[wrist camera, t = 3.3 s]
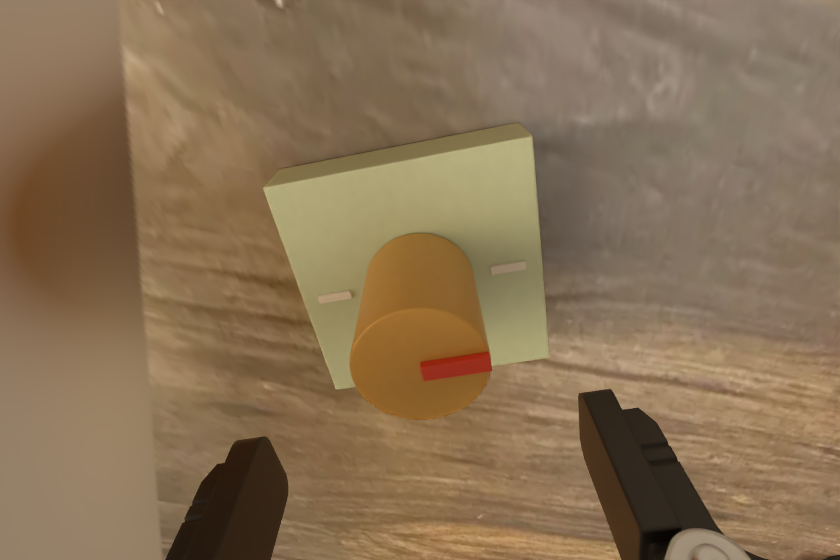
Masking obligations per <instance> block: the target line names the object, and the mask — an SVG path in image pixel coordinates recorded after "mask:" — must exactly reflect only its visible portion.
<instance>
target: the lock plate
mask: <svg viewBox="0 0 840 560" xmlns="http://www.w3.org/2000/svg"><path fill="white" fill-rule="evenodd" d="M263 190H264V193H265V196H266V199H267V201H268V204H269V207H270V210H271V212H272V215H273V218H274V221H275V223H276V226H277V229H278V232H279V234H280V237H281V240H282V243H283V245H284V248H285V251H286V254H287V256H288V259H289V262H290V265H291V268H292V270H293V273H294V276H295V279H296V281H297V284H298V287H299V290H300V292H301V295H302V298H303V301H304V303H305V306H306V309H307V312H308V314H309V317H310V320H311V323H312V325H313V328H314V331H315V334H316V336H317V339H318V342H319V345H320V347H321V350H322V353H323V356H324V358H325V361H326V364H327V367H328V370H329V372H330V375H331V378H332V381H333V383H334V386H335V389H336V390H338V389H345V388H351V387H356V386H355V384H354V382H353V379H352V377H351V373H350V365H349V361H350V353H351V348H352V343H353V338H354V333H355V328H356V323H357V318H358V314H359V309H360V304H361V299H362V294H363V289H364V284H365V279H366V274H367V270H368V267H369V264H370V262H371V260H372V258H373V257H374V255H375V254H376V253H377V252H378V250H379V249H381V248H382V247H383V246H384V245H385V244H387V243H388V242H390V241H392V240H394V239H395V238H398V237H401V236H404V235H408V234H416V233H425V234H432V235H436V236H440V237H442V238H445V239H447V240H449V241H450V242H452V243H453V244H455V245H456V246H458V247H459V248H460V249H461V250H462V251H463V253H464V254H465V255H466V256H467V258H468V260H469V262H470V264H471V266H472V270H473V274H474V279H475V283H476V288H477V293H478V297H479V302H480V307H481V311H482V316H483V321H484V325H485V330H486V335H487V340H488V344H489V349H490V354H491V363H492V364H491V366H497V365H504V364H511V363H517V362H524V361H530V360H537V359H544V358H549V344H548V331H547V318H546V305H545V292H544V279H543V266H542V253H541V239H540V226H539V213H538V200H537V187H536V174H535V161H534V148H533V137H532V135H531V134H530V133H529V132H528V131H527V130H526V129H525V128H524V127H523V126H522V125H521V124H520V123H514V124H509V125H504V126H499V127H494V128H488V129H483V130H478V131H473V132H468V133H463V134H458V135H453V136H447V137H442V138H437V139H432V140H427V141H422V142H417V143H412V144H407V145H401V146H396V147H391V148H386V149H381V150H376V151H371V152H366V153H361V154H355V155H350V156H345V157H340V158H335V159H330V160H325V161H320V162H314V163H309V164H304V165H299V166H294V167H289V168H284V169H280V170H279V171H278V172H277V173H276V174H275V175H274V176H273V177H272V179H271V180H270V181H269V182H268V183H267V184H266V185H265V186H264V187H263Z"/></svg>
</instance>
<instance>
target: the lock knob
mask: <svg viewBox="0 0 840 560" xmlns="http://www.w3.org/2000/svg"><path fill="white" fill-rule="evenodd" d="M491 364H492V363H491V354H490V349H489V344H488V340H487V335H486V330H485V325H484V321H483V316H482V311H481V307H480V302H479V297H478V293H477V288H476V283H475V279H474V274H473V270H472V266H471V264H470V262H469V260H468V258H467V256H466V255H465V254H464V253H463V251H462V250H461V249H460V248H459V247H458V246H456V245H455V244H453V243H452V242H450V241H449V240H447V239H445V238H442V237H440V236H436V235H432V234H425V233H416V234H408V235H404V236H401V237H398V238H395V239H394V240H392V241H390V242H388V243H387V244H385V245H384V246H383V247H382V248H381V249H379V250H378V252H377V253H376V254H375V255H374V257H373V258H372V260H371V262H370V264H369V267H368V270H367V274H366V279H365V284H364V289H363V294H362V299H361V304H360V309H359V314H358V318H357V323H356V328H355V333H354V338H353V343H352V348H351V353H350V361H349V365H350V373H351V377H352V379H353V382H354V384H355V386H356V388H357V389H358V391H359V392H360V394H361V395H362V396H363V397H364V398H365V399H366V400H367V401H368V402H369V403H370V404H372V405H373V406H375V407H376V408H378V409H379V410H381V411H383V412H385V413H388V414H390V415H393V416H396V417H400V418H405V419H413V420H428V419H436V418H441V417H444V416H448V415H450V414H453V413H455V412H458V411H459V410H461V409H463V408H465V407H466V406H467V405H469V404H470V403H471V402H473V401H474V400H475V399H476V398H477V397H478V396H479V394H480V393H481V392H482V390H483V389H484V387H485V386H486V383H487V381H488V379H489V376H490V372H491V371H492V366H491Z"/></svg>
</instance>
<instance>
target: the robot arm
mask: <svg viewBox="0 0 840 560" xmlns="http://www.w3.org/2000/svg"><path fill="white" fill-rule="evenodd" d="M578 402H579V427H580V441H581V447H582V451H583V455H584V459H585V462H586V465H587V467H588V470H589V473H590V476H591V478H592V481H593V484H594V486H595V489H596V492H597V494H598V497H599V500H600V503H601V505H602V508H603V511H604V513H605V516H606V519H607V522H608V524H609V527H610V530H611V532H612V535H613V538H614V540H615V543H616V546H617V549H618V551H619V554H620V557H621V559H622V560H768V559H764V558H761V557H758V556H756V555H753V554H751V553H749V552H747V551H745V550H744V549H742V548H741V547H740V546H739V545H738V544H736V543H735V542H734V541H732V540H731V539H729V538H728V537H726V536H725V535H724V534H723V533H722V532H721V531H720V529H719V528H718V527H717V525H716V524H715V522H714V521H713V519H712V517H711V516H710V514H709V512H708V510H707V509H706V507H705V505H704V504H703V502H702V500H701V498H700V497H699V495H698V493H697V492H696V490H695V488H694V486H693V485H692V483H691V481H690V479H689V478H688V476H687V474H686V473H685V471H684V469H683V467H682V466H681V464H680V462H678V461H677V457H676V455H675V454H674V452H673V450H672V448H671V447H670V446H669V445H668V441H667V440H666V438H665V436H664V435H663V433H662V431H661V429H660V428H659V426H658V424H657V423H656V422H655V421H654V420H653V419H651V418H650V417H649V416H648V415H646V414H645V413H644V412H643V411H642V410H640V409H639V408H633V409H626V410H622V409H621V407H620V405H619V403H618V401H617V399H616V397H615V395H614V393H613V392H612V390H611V389H606V390H599V391H592V392H584V393H579V396H578ZM287 498H288V480H287V476H286V473H285V471H284V469H283V467H282V465H281V463H280V461H279V459H278V457H277V454H276V452H275V450H274V448H273V446H272V444H271V442H270V440H269V439H268V438H267V437H257V438H250V439H243V440H237V441H235V442H234V444H233V445H232V447H231V449H230V452H229V454H228V456H227V459H226V461H225V463H222V464H217V465H216V466H215V467H214V468H213V470H212V471H211V472H210V473H209V474H208V475H207V477H206V478H205V479H204V480H203V481H202V482H201V484H200V487H199V489H198V491H197V493H196V495H195V497H194V499H193V502H192V503H193V505H192V506H190V508H189V510H188V512H187V514H186V517H185V522H184V523H182V525H181V527H180V529H179V532H178V534H177V536H176V538H175V540H174V542H173V544H172V547H171V549H170V551H169V553H168V555H167V557H166V559H165V560H271V557H272V553H273V549H274V546H275V542H276V538H277V535H278V531H279V527H280V524H281V520H282V516H283V513H284V509H285V506H286V502H287ZM824 560H840V555H836V556H831V557H828V558H825V559H824Z"/></svg>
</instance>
